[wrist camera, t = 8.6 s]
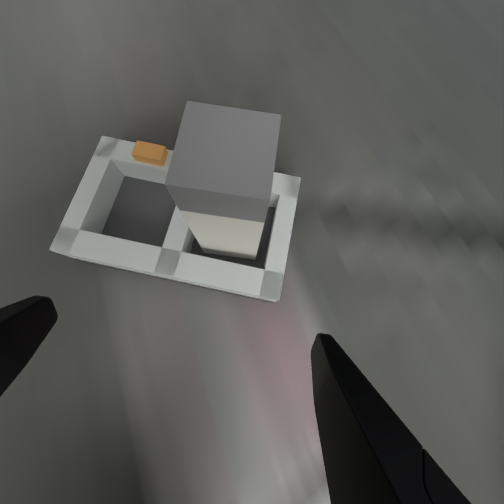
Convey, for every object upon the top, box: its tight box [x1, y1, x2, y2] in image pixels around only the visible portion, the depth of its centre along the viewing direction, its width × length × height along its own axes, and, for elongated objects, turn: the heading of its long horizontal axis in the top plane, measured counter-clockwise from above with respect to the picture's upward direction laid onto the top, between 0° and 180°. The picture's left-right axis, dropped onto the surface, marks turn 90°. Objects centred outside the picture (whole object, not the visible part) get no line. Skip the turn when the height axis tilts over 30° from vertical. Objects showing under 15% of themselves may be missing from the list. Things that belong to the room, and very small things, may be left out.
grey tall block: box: [164, 101, 281, 260], centre depth 16 cm, size 4×4×11 cm
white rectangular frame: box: [49, 136, 301, 303], centre depth 20 cm, size 10×18×4 cm, turn 78°
